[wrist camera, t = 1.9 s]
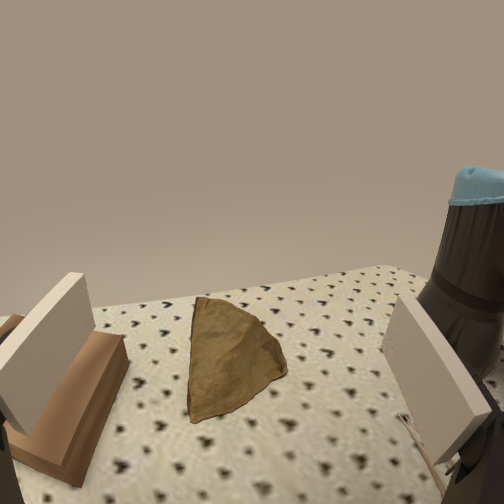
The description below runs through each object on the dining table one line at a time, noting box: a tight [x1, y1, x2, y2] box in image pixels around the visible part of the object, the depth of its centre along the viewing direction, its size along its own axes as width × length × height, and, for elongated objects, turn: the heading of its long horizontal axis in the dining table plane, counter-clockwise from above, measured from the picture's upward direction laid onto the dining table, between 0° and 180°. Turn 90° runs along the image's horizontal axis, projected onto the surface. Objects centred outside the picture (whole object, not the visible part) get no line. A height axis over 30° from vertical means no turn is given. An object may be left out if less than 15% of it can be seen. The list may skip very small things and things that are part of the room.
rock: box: [187, 297, 288, 424], centre depth 26 cm, size 11×9×10 cm
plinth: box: [0, 314, 129, 488], centre depth 21 cm, size 15×15×4 cm
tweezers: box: [397, 412, 456, 497], centre depth 19 cm, size 17×5×2 cm, turn 14°
